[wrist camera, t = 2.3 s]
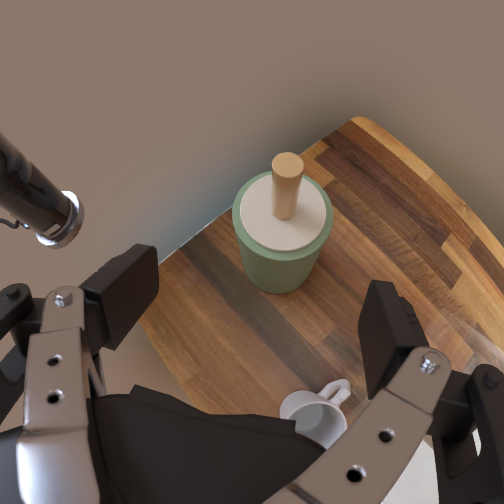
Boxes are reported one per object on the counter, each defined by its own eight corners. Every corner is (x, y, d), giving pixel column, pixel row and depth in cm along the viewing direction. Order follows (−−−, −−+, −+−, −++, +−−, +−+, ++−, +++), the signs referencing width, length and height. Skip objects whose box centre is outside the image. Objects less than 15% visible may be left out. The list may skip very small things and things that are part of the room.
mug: (302, 441, 36) (314, 471, 24) (267, 413, 37) (267, 435, 26) (350, 390, 38) (380, 401, 26) (316, 361, 39) (336, 364, 28)
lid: (242, 255, 28) (233, 218, 21) (238, 178, 31) (230, 127, 23) (331, 249, 28) (353, 211, 20) (318, 174, 31) (330, 123, 23)
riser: (245, 296, 43) (234, 264, 28) (242, 231, 46) (230, 173, 31) (315, 291, 43) (340, 256, 28) (307, 227, 46) (324, 167, 31)
